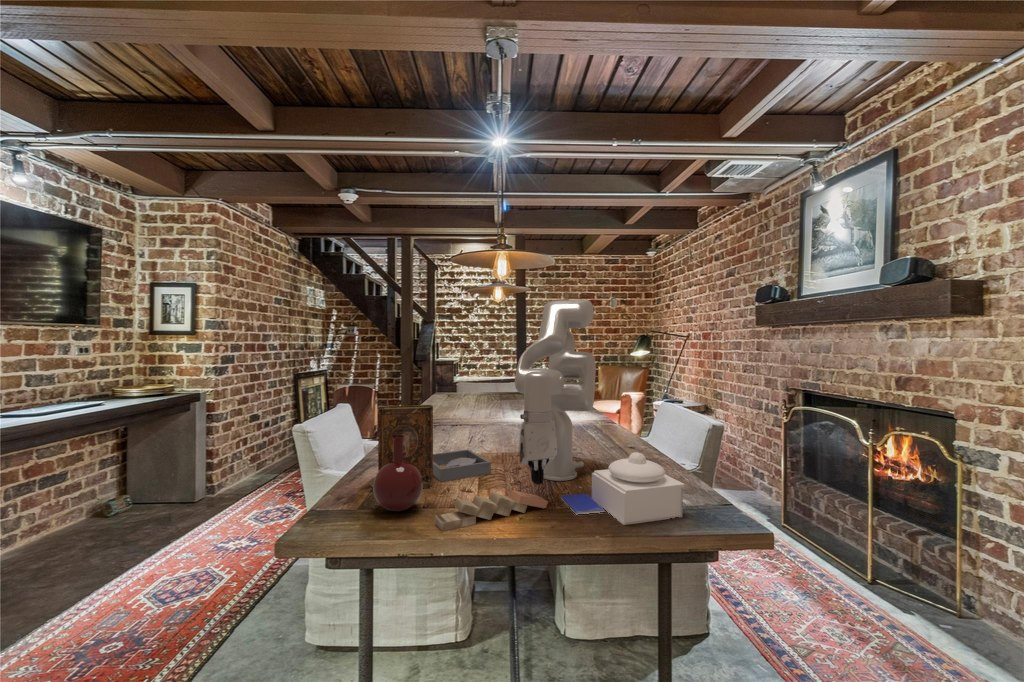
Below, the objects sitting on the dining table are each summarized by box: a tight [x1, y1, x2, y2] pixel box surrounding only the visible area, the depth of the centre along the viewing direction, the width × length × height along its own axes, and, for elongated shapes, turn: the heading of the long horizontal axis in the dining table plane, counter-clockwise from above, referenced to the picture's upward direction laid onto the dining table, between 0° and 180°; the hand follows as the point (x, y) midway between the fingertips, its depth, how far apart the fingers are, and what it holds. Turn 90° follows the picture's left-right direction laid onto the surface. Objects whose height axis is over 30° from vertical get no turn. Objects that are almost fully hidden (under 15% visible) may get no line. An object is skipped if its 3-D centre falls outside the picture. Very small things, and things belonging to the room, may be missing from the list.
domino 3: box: [471, 494, 512, 518], centre depth 122 cm, size 2×5×9 cm
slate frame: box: [433, 449, 492, 483], centre depth 161 cm, size 18×19×4 cm
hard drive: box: [560, 493, 606, 516], centre depth 129 cm, size 2×8×12 cm
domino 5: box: [509, 489, 549, 509], centre depth 127 cm, size 2×5×9 cm
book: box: [377, 404, 434, 489], centre depth 144 cm, size 16×6×25 cm, turn 102°
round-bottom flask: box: [372, 435, 424, 512], centre depth 126 cm, size 13×13×20 cm
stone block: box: [444, 458, 476, 468], centre depth 161 cm, size 12×5×10 cm
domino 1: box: [434, 510, 477, 532], centre depth 117 cm, size 2×5×9 cm
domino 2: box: [453, 497, 494, 521], centre depth 119 cm, size 2×5×9 cm
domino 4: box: [488, 491, 528, 514], centre depth 124 cm, size 2×5×9 cm
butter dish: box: [591, 451, 686, 526], centre depth 127 cm, size 18×18×16 cm
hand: (537, 482), depth 128 cm, fingers closed
